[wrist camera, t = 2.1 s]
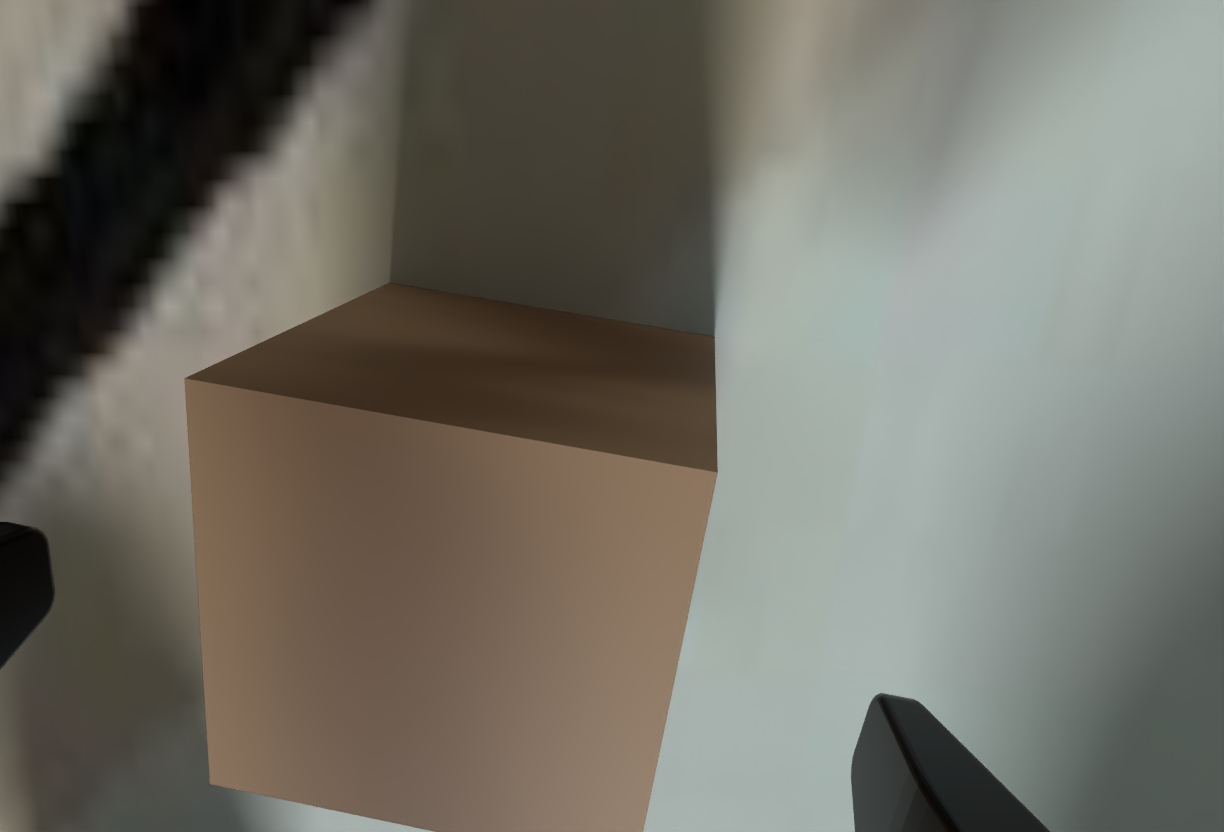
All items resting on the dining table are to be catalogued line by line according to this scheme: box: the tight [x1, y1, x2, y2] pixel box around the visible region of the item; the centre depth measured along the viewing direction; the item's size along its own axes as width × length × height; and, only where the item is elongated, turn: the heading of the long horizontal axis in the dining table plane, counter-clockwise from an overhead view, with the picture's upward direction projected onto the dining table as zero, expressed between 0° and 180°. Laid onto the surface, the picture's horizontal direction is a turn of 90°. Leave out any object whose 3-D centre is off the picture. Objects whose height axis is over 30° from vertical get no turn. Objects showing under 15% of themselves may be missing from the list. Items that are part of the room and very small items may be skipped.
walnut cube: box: [185, 283, 718, 832], centre depth 10 cm, size 5×5×5 cm
